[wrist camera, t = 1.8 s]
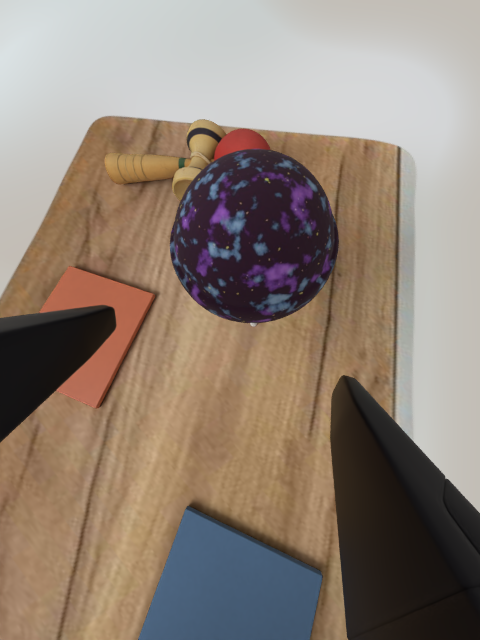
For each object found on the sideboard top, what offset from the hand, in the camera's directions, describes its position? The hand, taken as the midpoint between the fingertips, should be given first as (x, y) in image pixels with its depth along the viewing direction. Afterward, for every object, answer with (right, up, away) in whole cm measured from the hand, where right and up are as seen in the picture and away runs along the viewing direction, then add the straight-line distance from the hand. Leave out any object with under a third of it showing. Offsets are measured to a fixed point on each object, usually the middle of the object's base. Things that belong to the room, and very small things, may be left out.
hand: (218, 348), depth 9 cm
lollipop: (+2, +1, +12) cm, 13 cm away
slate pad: (-1, -20, +6) cm, 21 cm away
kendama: (-5, +16, +18) cm, 24 cm away
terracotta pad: (-14, 0, +13) cm, 19 cm away
